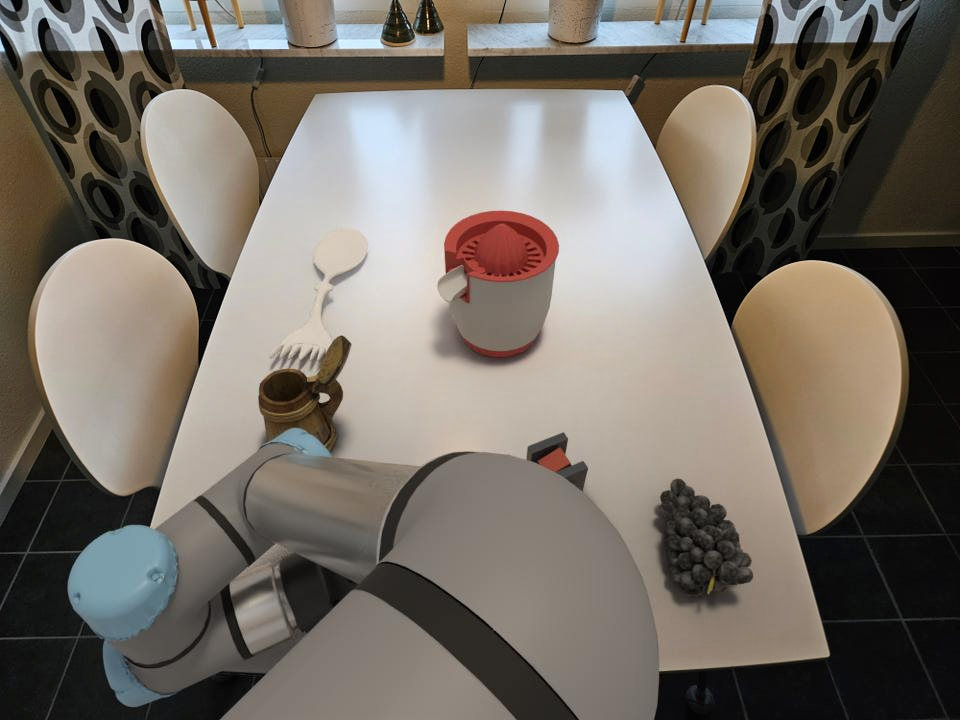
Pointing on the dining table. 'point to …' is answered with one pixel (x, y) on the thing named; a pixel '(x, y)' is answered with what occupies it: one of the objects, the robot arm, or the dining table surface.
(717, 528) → the fruit
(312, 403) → the wooden mug
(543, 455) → the bracket
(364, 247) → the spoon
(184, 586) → the robot arm
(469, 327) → the citrus juicer
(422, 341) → the dining table surface
